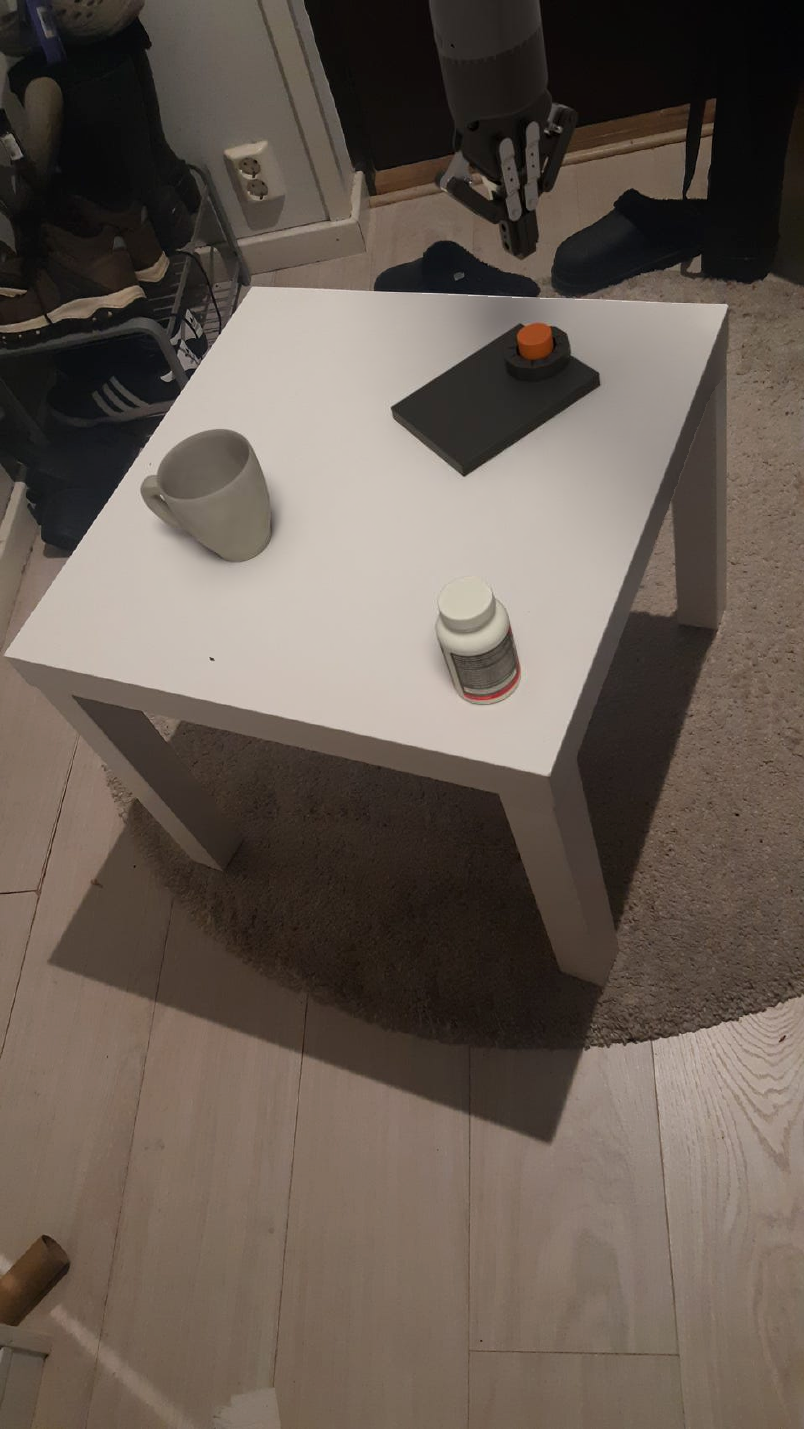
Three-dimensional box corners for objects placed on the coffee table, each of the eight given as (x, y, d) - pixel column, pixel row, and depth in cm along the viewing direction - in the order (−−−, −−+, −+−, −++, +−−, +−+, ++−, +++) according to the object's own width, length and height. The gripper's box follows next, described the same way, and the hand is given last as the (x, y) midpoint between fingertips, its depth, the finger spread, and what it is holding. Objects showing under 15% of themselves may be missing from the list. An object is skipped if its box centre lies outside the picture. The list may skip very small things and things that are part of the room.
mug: (299, 504, 93) (263, 425, 85) (274, 576, 88) (234, 499, 81) (186, 507, 96) (142, 431, 89) (157, 577, 92) (108, 503, 84)
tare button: (539, 334, 94) (537, 318, 93) (560, 347, 92) (558, 331, 91) (512, 351, 93) (510, 335, 92) (533, 365, 92) (531, 349, 90)
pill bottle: (536, 671, 76) (518, 590, 68) (489, 718, 74) (465, 640, 67) (486, 639, 79) (463, 557, 71) (439, 683, 77) (411, 605, 70)
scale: (526, 331, 99) (522, 305, 96) (605, 382, 92) (603, 355, 90) (393, 418, 96) (385, 394, 94) (464, 477, 89) (457, 452, 87)
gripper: (442, 85, 67) (486, 309, 81) (594, -6, 69) (612, 229, 83) (384, 60, 71) (435, 276, 85) (529, -25, 73) (556, 201, 87)
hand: (522, 252), depth 84 cm, fingers closed
